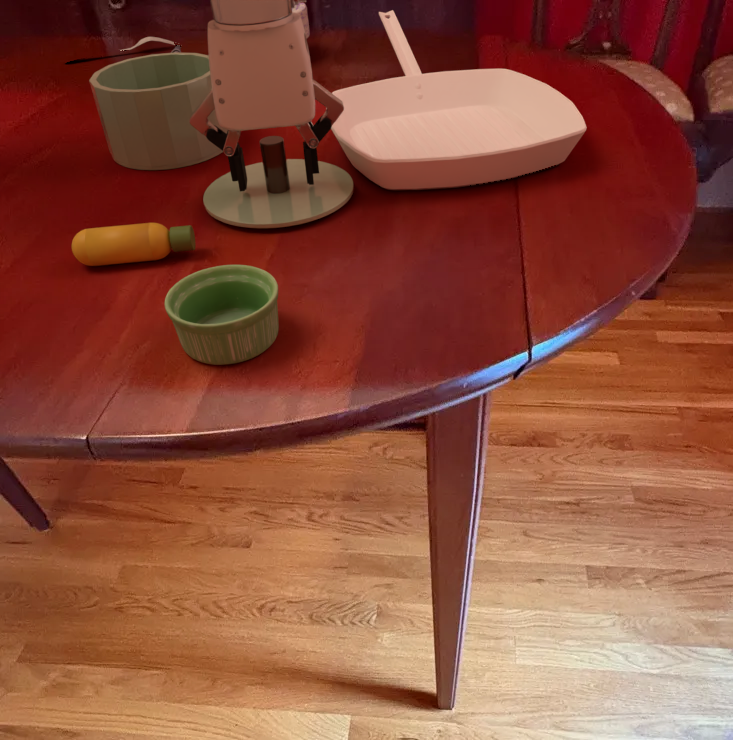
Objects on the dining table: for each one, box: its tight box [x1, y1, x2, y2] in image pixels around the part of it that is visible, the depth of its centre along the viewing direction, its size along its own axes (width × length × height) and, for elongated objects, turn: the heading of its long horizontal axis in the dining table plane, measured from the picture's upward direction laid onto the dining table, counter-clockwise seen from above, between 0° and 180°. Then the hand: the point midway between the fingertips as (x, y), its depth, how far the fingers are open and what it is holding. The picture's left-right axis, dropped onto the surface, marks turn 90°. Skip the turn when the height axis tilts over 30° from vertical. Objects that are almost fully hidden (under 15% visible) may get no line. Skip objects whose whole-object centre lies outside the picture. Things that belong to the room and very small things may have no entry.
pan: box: [325, 9, 588, 191], centre depth 92 cm, size 29×45×9 cm, turn 13°
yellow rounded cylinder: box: [71, 222, 197, 267], centre depth 70 cm, size 12×4×4 cm, turn 95°
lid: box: [202, 135, 355, 229], centre depth 78 cm, size 17×17×7 cm
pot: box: [88, 52, 228, 171], centre depth 92 cm, size 16×16×10 cm
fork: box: [119, 36, 175, 51], centre depth 132 cm, size 3×21×3 cm, turn 108°
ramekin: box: [164, 264, 280, 366], centre depth 59 cm, size 9×9×4 cm
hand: (276, 181), depth 79 cm, fingers open, 6 cm apart
